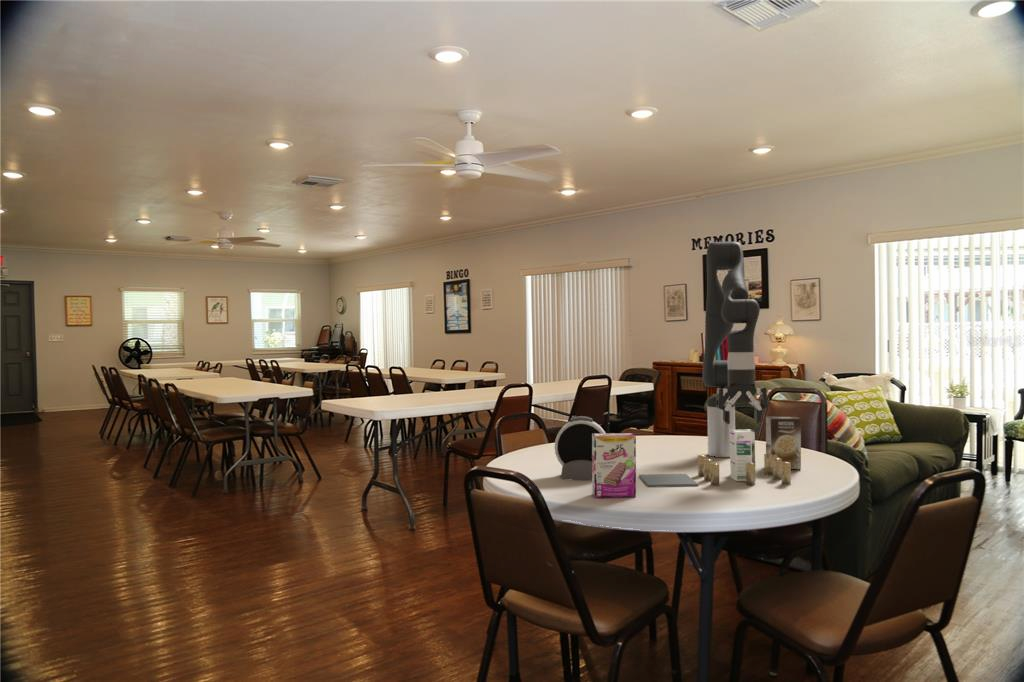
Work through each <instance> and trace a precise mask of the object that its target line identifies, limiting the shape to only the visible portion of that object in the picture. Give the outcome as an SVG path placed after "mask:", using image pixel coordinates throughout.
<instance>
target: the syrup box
mask: <svg viewBox="0 0 1024 682" xmlns="http://www.w3.org/2000/svg"><path fill="white" fill-rule="evenodd" d="M755 433H756V432H755V430H753V429H749V428H748V429H747V428H746V429H735V430H730V457H729V459H730V461H729V462H730V478H731V479H732V480H733V479H734V480H733V481H734V482H736V481H738V482H746V463H747V462H752V463H755V464H756V442H755V441H756V435H755ZM756 478H757V477H756V473H755V482H756V480H757V479H756Z"/></svg>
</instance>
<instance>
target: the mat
mask: <svg viewBox="0 0 1024 682" xmlns="http://www.w3.org/2000/svg"><path fill="white" fill-rule="evenodd" d="M638 478H640V479H641V480H642V482H643V483H644V482H645V483H646V484H647V485H648V486H670V487H699V483H698V482H697V481H695V480H694V479H692V477H690V476H689V475H687V474H686V473H662V474H661V473H658V474H657V473H655V474H651V473H650V474H645V473H644V474H638ZM645 483H644V484H645ZM646 484H645V485H646ZM647 485H646V486H647ZM648 486H647V487H648Z"/></svg>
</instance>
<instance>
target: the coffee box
mask: <svg viewBox="0 0 1024 682" xmlns="http://www.w3.org/2000/svg"><path fill="white" fill-rule="evenodd" d="M765 454H772V455H773V458H781V462H790V466H791V469H798V470H797V471H800V470H799V469H801V470H802V418H800V417H796V416H775V415H774V416H769V415H768V416H767V415H766V416H765Z"/></svg>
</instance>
